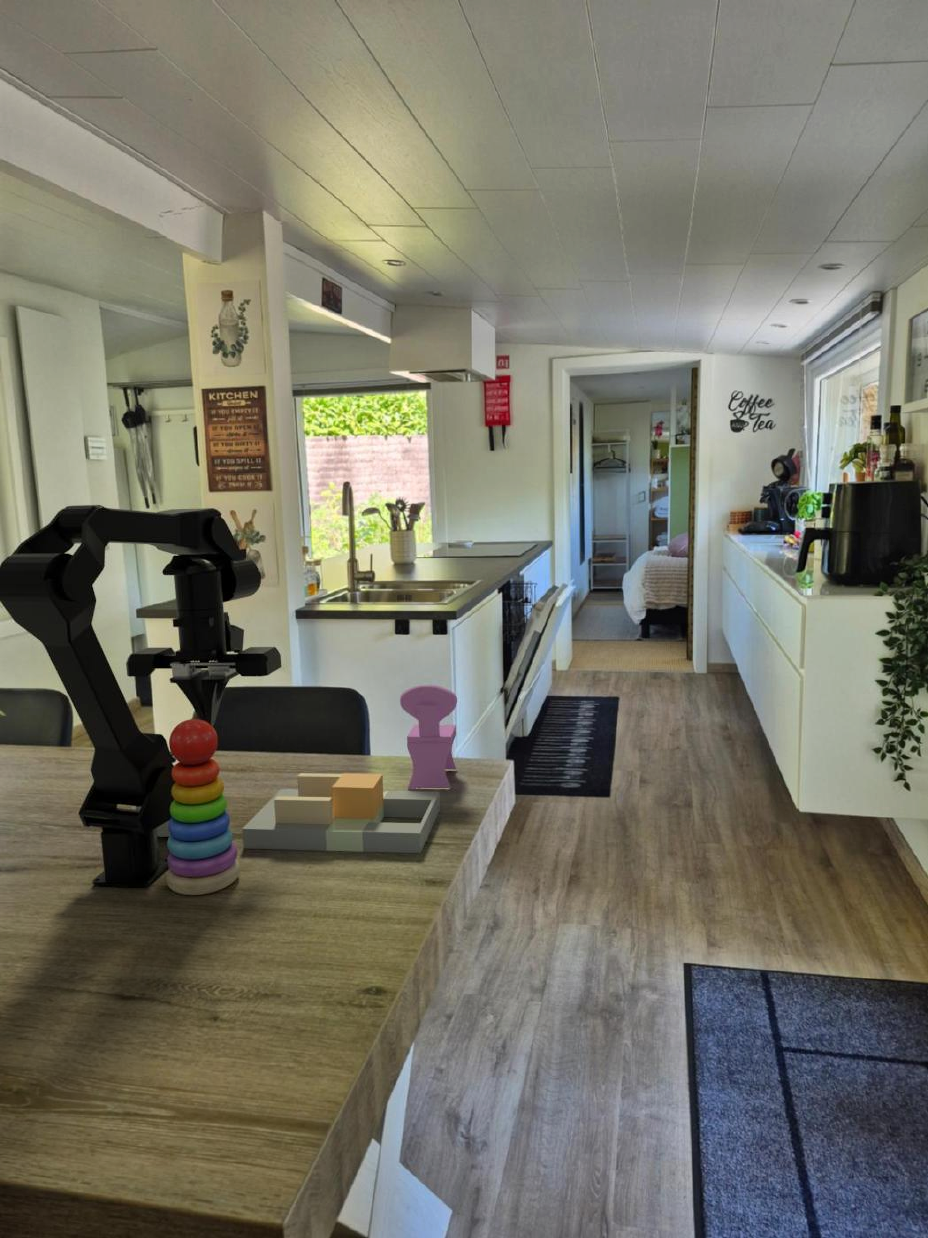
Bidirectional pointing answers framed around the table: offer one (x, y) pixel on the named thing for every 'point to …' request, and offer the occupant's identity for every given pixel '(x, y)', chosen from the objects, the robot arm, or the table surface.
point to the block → (357, 796)
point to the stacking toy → (198, 815)
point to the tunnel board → (339, 821)
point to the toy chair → (430, 735)
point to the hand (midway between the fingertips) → (209, 726)
